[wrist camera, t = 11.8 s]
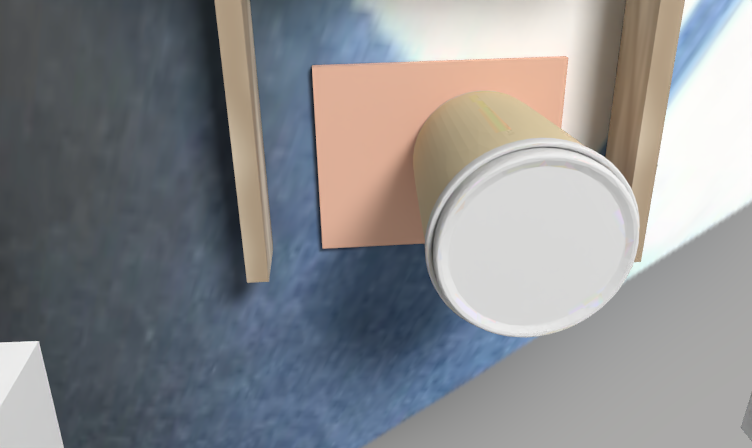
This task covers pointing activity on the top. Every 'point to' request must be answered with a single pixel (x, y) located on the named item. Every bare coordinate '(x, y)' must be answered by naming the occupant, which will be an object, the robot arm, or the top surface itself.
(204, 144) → the top surface
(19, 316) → the top surface
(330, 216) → the front mat
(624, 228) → the coffee cup
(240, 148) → the bay
